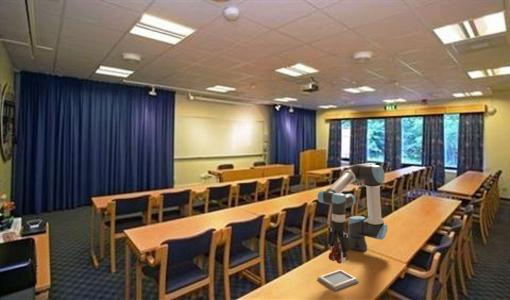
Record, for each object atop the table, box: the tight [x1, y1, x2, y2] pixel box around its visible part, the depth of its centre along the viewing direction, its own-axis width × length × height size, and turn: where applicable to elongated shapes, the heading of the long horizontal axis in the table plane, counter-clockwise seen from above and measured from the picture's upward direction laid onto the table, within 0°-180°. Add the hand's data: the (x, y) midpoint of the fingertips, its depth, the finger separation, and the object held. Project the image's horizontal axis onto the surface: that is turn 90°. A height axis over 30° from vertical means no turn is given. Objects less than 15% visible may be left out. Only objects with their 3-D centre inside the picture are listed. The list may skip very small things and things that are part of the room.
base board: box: [317, 269, 359, 292], centre depth 156 cm, size 18×14×2 cm
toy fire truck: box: [328, 241, 349, 264], centre depth 155 cm, size 7×12×10 cm, turn 128°
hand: (337, 259), depth 155 cm, fingers closed on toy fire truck, 7 cm apart
